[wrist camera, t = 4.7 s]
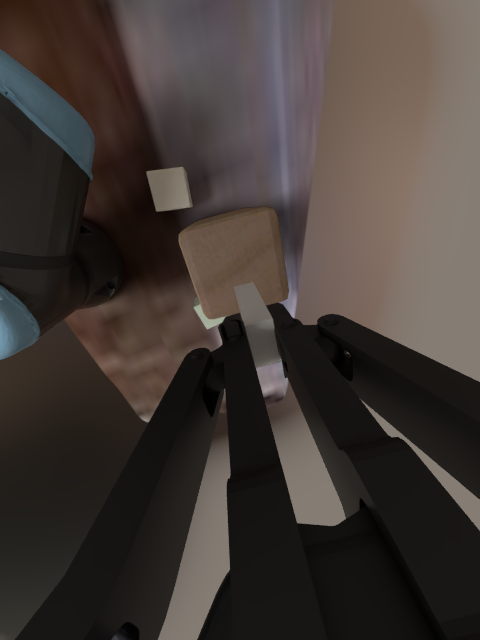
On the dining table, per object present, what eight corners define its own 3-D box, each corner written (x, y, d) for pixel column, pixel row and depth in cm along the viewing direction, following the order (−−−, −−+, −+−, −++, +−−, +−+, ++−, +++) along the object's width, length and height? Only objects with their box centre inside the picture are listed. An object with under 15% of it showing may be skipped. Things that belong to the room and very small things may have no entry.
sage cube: (207, 318, 47) (207, 329, 43) (195, 297, 45) (193, 307, 40) (229, 307, 47) (231, 318, 42) (218, 286, 44) (218, 295, 40)
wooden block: (259, 263, 43) (292, 302, 25) (208, 277, 43) (205, 325, 26) (248, 206, 39) (278, 203, 21) (191, 221, 39) (173, 232, 21)
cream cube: (163, 211, 38) (156, 211, 33) (154, 176, 36) (145, 171, 31) (193, 207, 38) (190, 207, 34) (186, 171, 36) (182, 166, 31)
